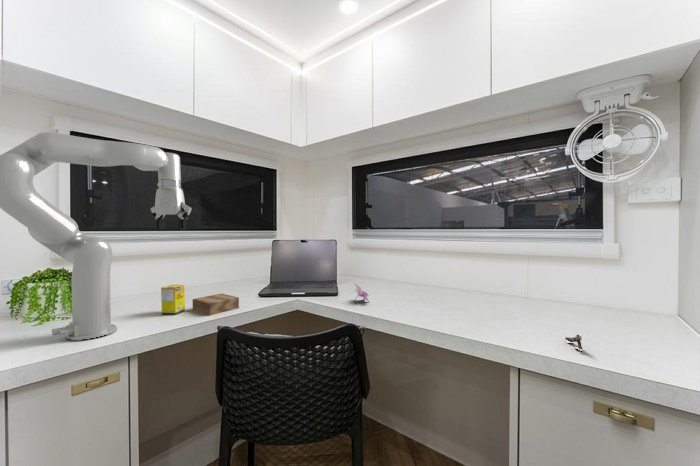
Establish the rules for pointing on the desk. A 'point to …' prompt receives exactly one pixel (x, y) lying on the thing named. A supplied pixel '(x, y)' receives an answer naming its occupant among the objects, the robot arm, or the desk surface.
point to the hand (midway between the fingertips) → (171, 229)
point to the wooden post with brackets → (575, 340)
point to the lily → (361, 293)
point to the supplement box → (173, 299)
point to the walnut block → (215, 304)
